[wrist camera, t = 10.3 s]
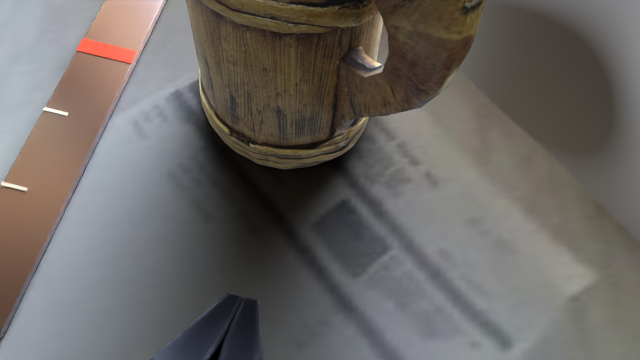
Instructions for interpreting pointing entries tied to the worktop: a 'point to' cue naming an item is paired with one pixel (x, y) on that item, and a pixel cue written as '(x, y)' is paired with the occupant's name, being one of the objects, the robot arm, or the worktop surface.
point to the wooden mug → (321, 69)
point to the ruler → (66, 141)
